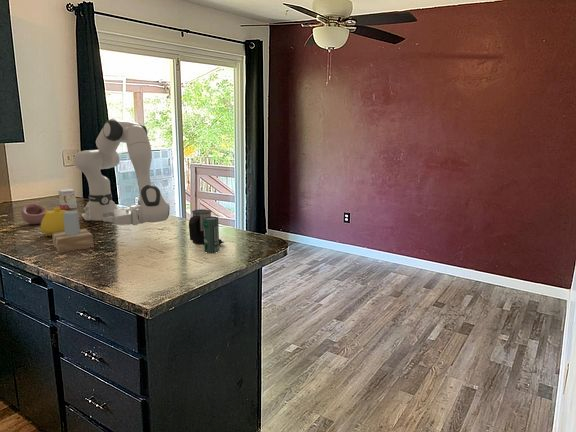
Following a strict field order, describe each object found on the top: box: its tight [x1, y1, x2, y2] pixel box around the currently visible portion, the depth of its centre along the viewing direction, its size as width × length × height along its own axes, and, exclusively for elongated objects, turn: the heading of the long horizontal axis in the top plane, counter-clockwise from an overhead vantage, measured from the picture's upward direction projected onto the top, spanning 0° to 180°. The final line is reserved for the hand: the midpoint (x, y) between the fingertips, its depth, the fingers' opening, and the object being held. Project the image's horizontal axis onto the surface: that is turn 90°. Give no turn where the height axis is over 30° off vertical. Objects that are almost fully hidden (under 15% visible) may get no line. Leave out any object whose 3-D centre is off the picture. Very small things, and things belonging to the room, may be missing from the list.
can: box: [203, 215, 220, 254], centre depth 189 cm, size 6×6×15 cm
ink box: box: [58, 188, 78, 210], centre depth 274 cm, size 9×5×12 cm, turn 138°
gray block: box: [63, 210, 81, 236], centre depth 194 cm, size 5×5×10 cm
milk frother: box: [188, 209, 225, 246], centre depth 201 cm, size 14×16×15 cm
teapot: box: [40, 206, 68, 237], centre depth 214 cm, size 20×16×14 cm
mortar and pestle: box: [20, 203, 47, 225], centre depth 234 cm, size 12×12×11 cm
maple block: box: [51, 228, 95, 253], centre depth 196 cm, size 14×14×6 cm
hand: (102, 217), depth 200 cm, fingers open, 8 cm apart
